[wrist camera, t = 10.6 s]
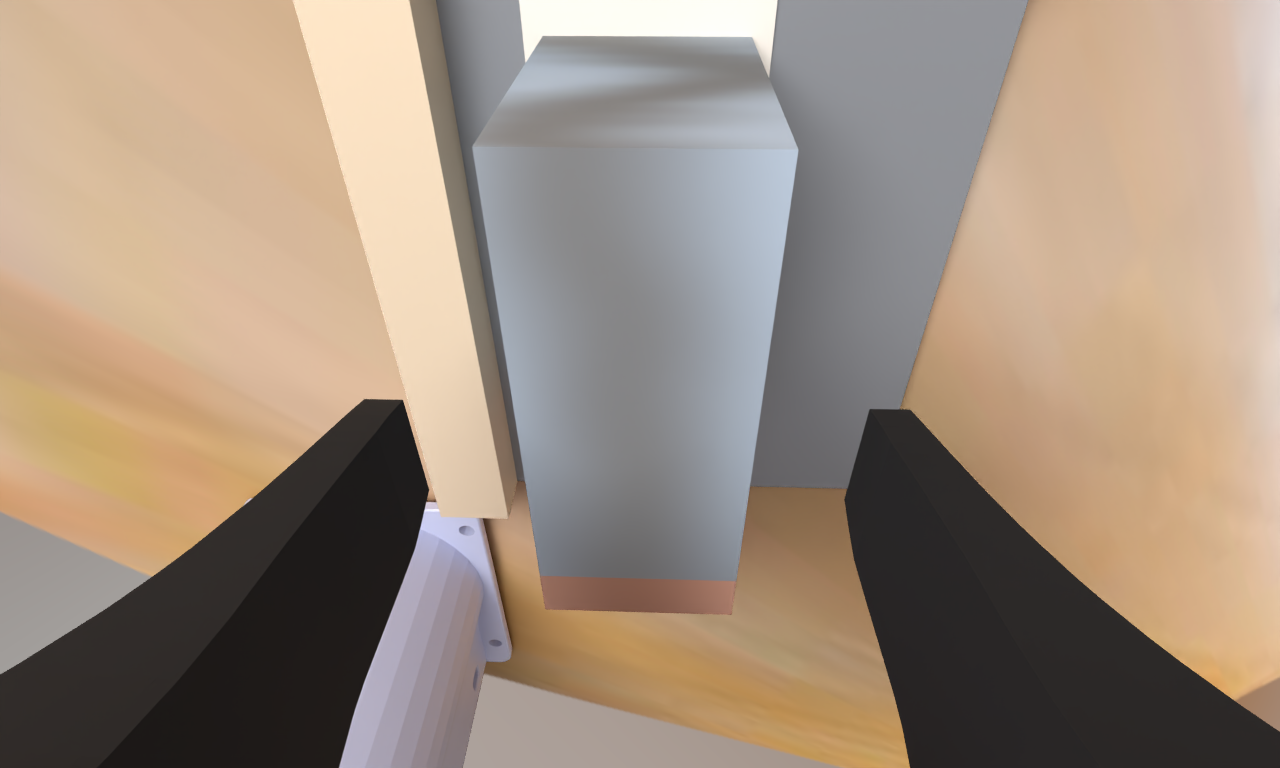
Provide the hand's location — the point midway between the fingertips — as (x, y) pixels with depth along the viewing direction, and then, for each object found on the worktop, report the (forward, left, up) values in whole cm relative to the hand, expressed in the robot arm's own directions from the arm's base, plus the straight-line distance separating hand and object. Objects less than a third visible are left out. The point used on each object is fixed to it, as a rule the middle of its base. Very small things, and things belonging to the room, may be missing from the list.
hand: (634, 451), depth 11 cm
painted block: (0, 0, -6) cm, 7 cm away
